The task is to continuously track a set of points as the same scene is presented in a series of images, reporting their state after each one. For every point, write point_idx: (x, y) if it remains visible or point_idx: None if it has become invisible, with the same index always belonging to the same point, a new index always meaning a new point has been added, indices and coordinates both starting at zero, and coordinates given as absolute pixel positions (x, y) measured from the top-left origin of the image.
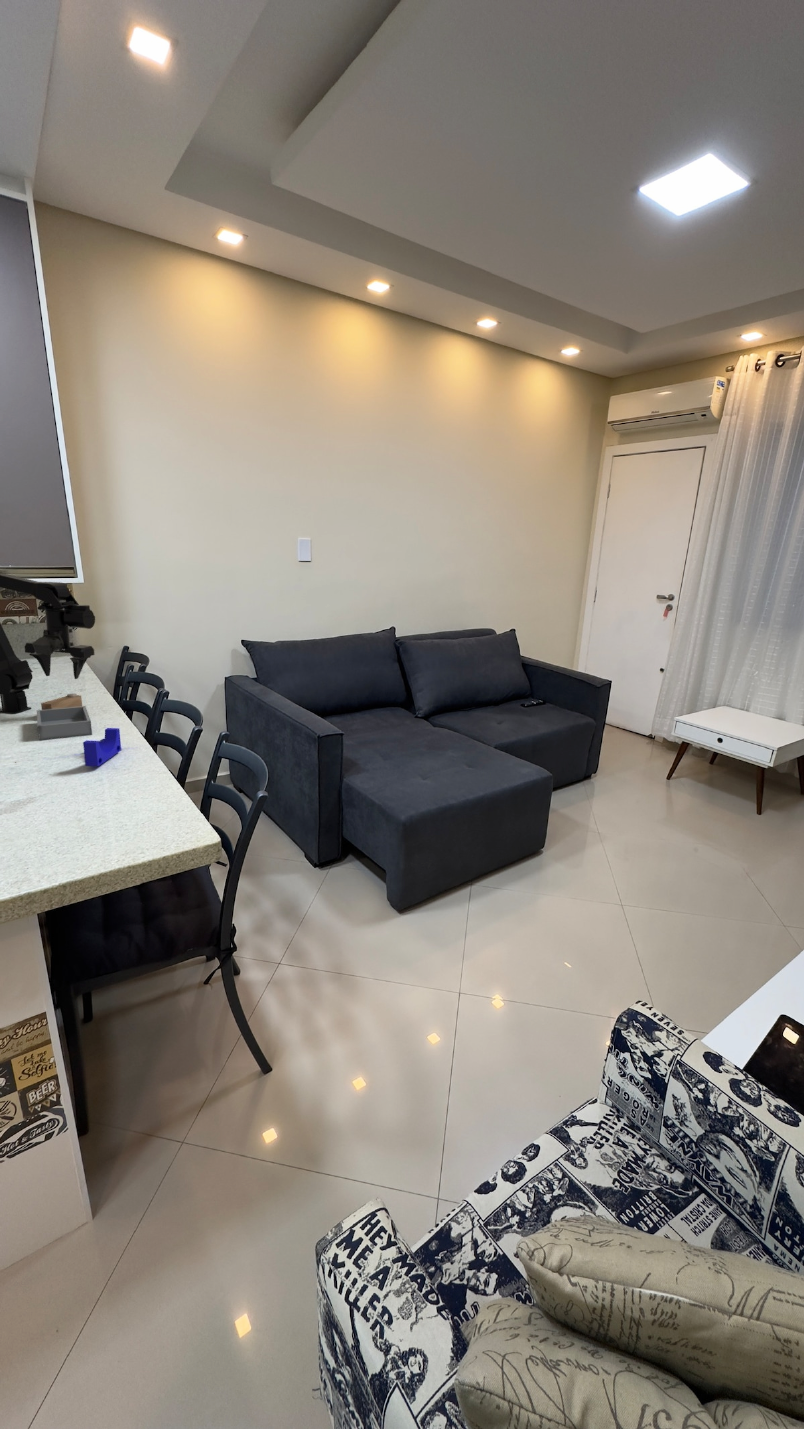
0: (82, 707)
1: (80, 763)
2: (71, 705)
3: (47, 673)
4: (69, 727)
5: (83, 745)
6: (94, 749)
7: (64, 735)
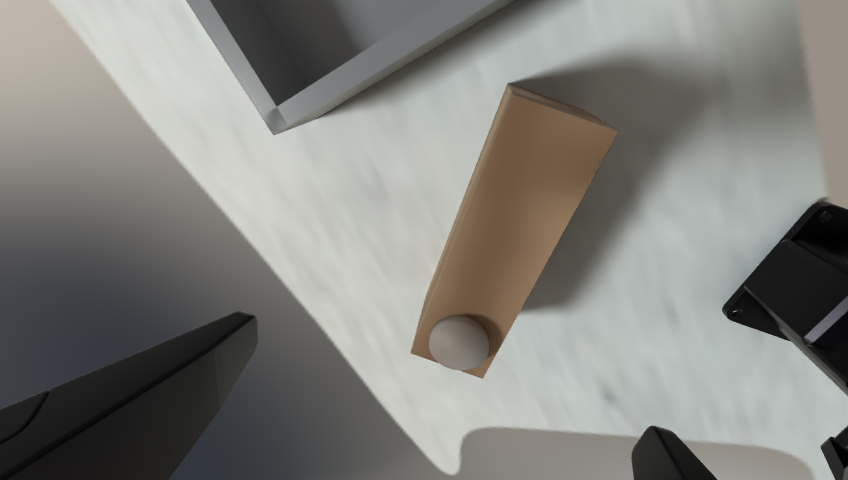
0: (279, 105)
1: None
2: (444, 255)
3: (660, 464)
4: None
5: None
6: None
7: None
